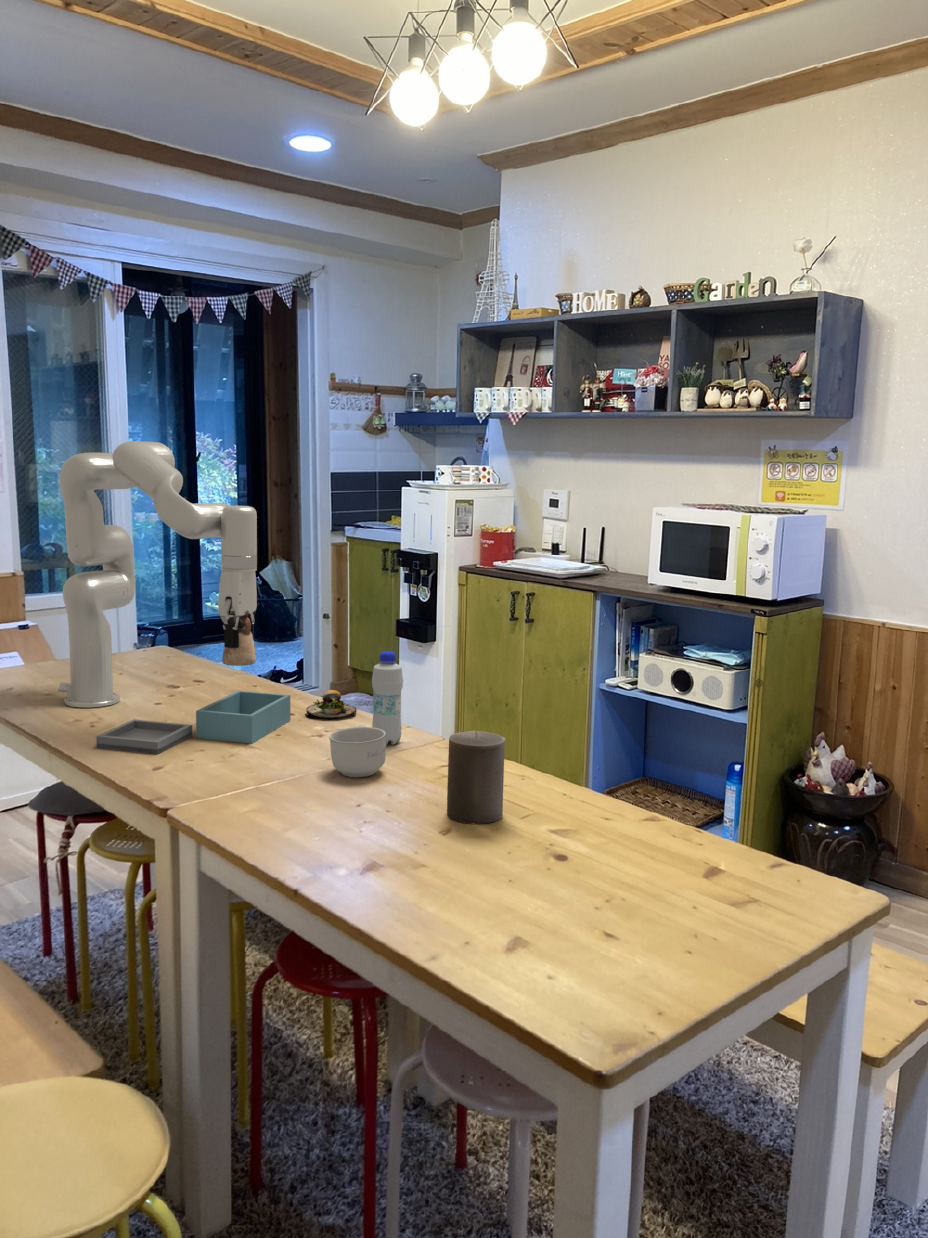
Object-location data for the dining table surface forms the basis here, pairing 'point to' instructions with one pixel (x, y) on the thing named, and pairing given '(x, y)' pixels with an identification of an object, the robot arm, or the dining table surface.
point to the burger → (331, 706)
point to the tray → (144, 736)
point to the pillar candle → (475, 777)
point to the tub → (243, 716)
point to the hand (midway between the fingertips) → (239, 643)
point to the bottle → (387, 696)
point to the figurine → (241, 645)
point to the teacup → (358, 750)
